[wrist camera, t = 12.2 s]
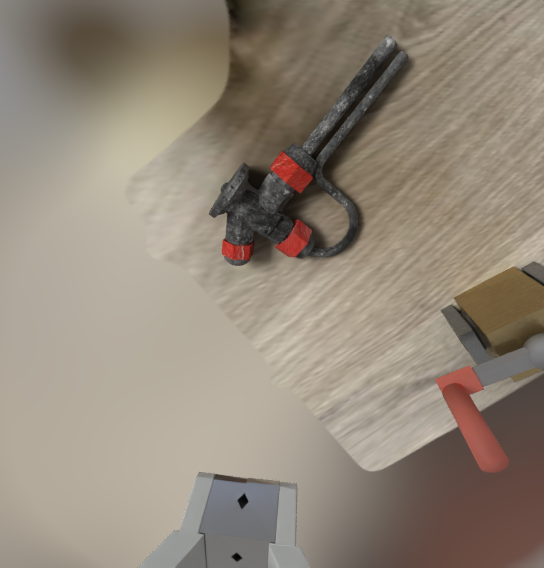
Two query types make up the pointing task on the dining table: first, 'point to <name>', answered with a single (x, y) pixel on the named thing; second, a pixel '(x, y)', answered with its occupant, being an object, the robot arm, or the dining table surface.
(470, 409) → the lever
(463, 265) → the dining table surface
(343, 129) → the valve
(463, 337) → the lever valve base
